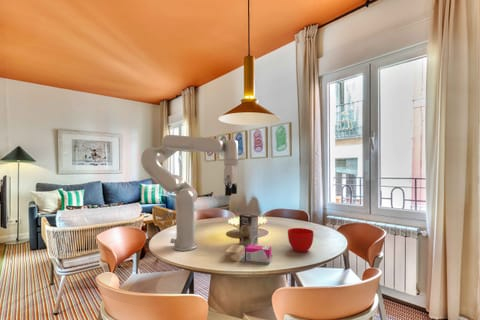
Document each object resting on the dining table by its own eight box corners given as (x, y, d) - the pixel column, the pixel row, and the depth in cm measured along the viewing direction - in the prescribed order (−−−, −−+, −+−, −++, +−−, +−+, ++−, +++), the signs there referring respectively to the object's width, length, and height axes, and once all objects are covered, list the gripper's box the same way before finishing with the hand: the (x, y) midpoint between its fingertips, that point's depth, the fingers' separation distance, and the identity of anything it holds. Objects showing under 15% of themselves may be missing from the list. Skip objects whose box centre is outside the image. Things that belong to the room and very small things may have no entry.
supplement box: (247, 256, 123) (271, 259, 120) (244, 260, 117) (269, 263, 114) (248, 244, 123) (271, 246, 120) (244, 247, 118) (269, 250, 114)
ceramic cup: (304, 243, 144) (303, 225, 145) (318, 253, 128) (318, 233, 128) (282, 245, 142) (281, 226, 143) (293, 255, 126) (293, 234, 126)
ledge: (225, 260, 119) (225, 251, 119) (232, 252, 130) (232, 244, 130) (237, 261, 118) (237, 252, 118) (244, 253, 128) (243, 245, 128)
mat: (239, 262, 117) (239, 261, 117) (246, 253, 128) (246, 252, 128) (268, 264, 113) (268, 264, 113) (272, 255, 125) (272, 255, 125)
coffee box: (238, 243, 146) (238, 214, 147) (246, 240, 151) (246, 213, 152) (251, 246, 140) (250, 216, 141) (258, 243, 145) (258, 215, 145)
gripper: (229, 163, 149) (229, 193, 148) (218, 162, 132) (219, 196, 132) (242, 163, 147) (242, 193, 146) (232, 162, 130) (233, 196, 129)
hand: (231, 194), depth 139 cm, fingers open, 9 cm apart
